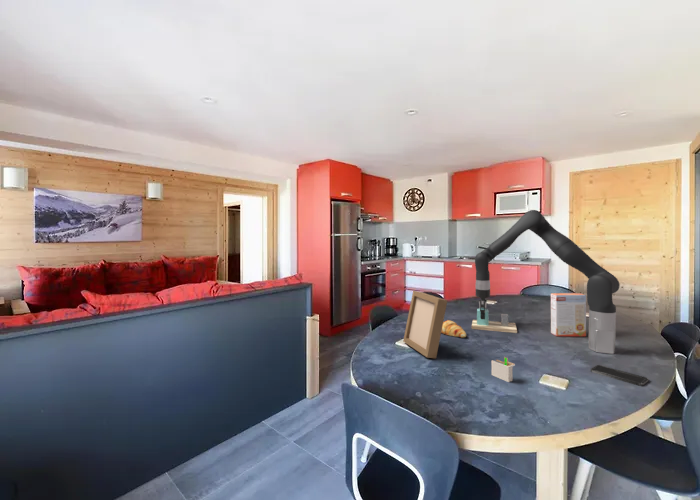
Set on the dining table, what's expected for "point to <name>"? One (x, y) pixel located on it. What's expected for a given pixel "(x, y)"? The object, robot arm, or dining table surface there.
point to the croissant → (452, 329)
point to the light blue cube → (483, 321)
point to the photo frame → (425, 323)
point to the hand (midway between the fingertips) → (482, 317)
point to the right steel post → (504, 320)
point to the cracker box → (568, 314)
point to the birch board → (495, 327)
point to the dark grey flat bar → (620, 375)
